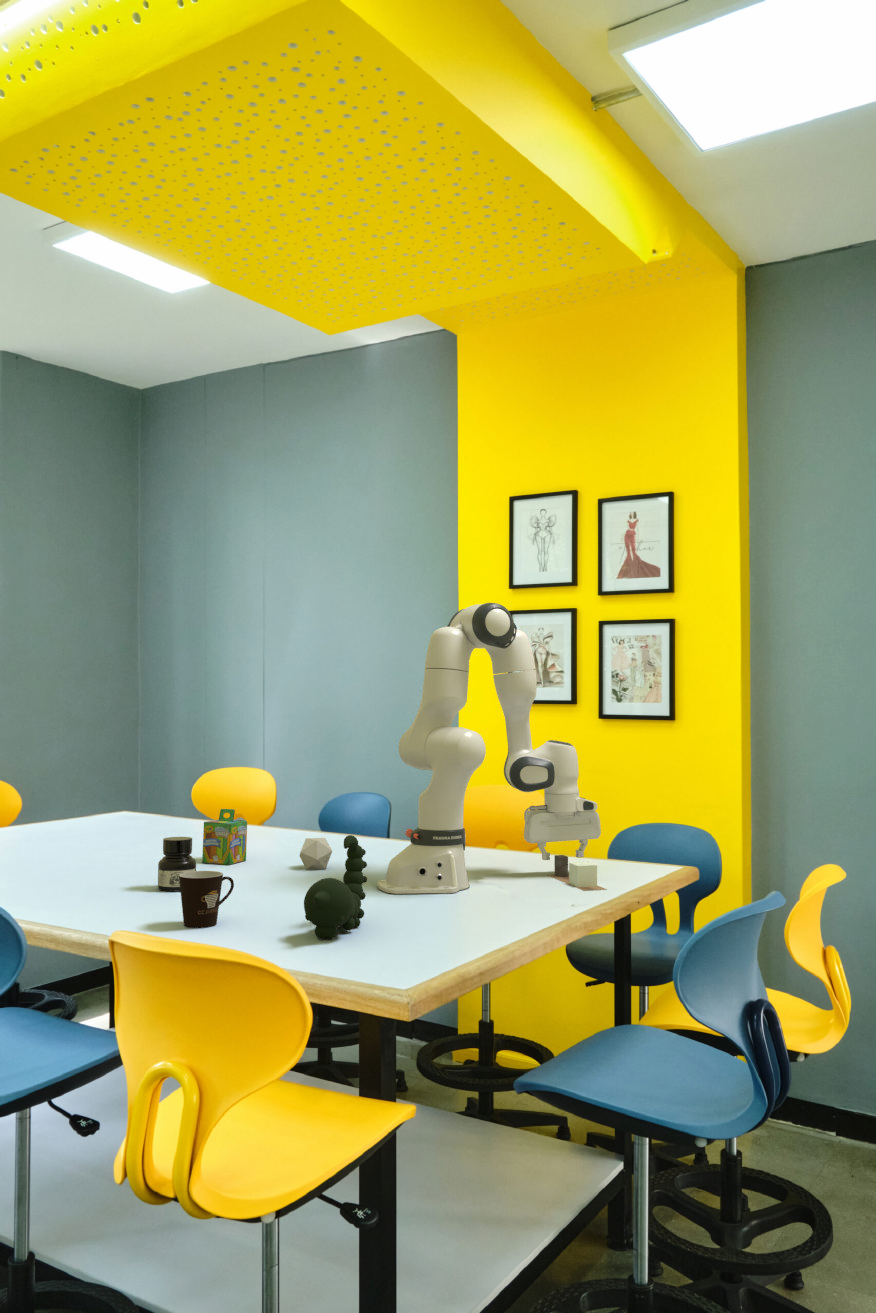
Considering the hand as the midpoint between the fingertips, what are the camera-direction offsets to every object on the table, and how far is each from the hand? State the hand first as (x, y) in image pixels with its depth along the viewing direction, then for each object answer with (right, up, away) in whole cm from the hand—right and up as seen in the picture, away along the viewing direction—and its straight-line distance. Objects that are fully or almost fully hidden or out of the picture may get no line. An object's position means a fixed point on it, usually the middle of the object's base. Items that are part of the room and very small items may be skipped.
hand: (563, 858), depth 248 cm
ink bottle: (-95, -5, -14) cm, 96 cm away
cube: (+3, -4, -13) cm, 14 cm away
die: (-65, -6, +16) cm, 67 cm away
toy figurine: (-52, -3, -58) cm, 78 cm away
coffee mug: (-78, -3, -52) cm, 94 cm away
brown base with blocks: (+2, -5, -10) cm, 11 cm away
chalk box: (-92, -7, +26) cm, 96 cm away
